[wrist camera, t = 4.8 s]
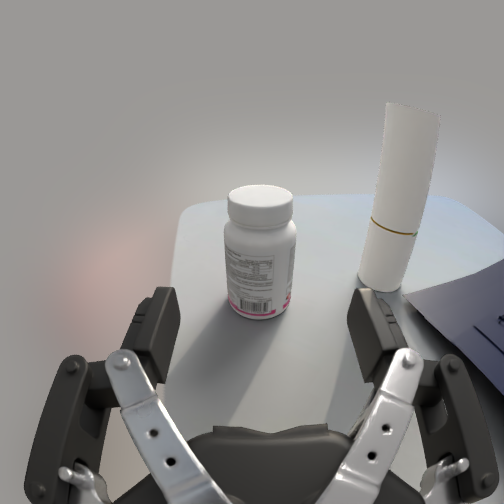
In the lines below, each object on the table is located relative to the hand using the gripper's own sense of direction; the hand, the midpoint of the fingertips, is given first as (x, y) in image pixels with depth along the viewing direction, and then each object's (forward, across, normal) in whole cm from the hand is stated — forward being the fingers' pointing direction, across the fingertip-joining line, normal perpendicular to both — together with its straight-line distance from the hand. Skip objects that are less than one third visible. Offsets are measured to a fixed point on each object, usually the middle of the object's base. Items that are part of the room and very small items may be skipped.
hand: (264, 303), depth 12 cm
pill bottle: (+7, 0, +6) cm, 9 cm away
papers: (-5, -27, +6) cm, 28 cm away
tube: (+10, -11, +6) cm, 16 cm away
